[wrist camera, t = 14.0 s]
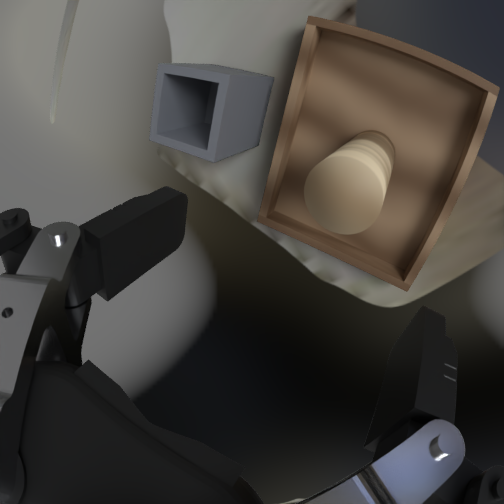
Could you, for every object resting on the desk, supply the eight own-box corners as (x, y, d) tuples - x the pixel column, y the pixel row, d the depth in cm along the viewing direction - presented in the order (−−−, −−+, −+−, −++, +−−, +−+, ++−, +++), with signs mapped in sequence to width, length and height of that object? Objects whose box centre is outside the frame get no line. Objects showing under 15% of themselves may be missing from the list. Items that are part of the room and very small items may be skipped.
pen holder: (211, 64, 29) (158, 63, 23) (274, 77, 27) (230, 74, 21) (200, 126, 33) (149, 140, 27) (258, 145, 31) (213, 162, 25)
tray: (318, 22, 22) (308, 15, 20) (491, 88, 18) (499, 87, 16) (269, 210, 34) (257, 221, 31) (408, 275, 29) (407, 291, 27)
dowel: (358, 123, 24) (316, 144, 14) (401, 141, 23) (395, 177, 13) (344, 164, 27) (295, 215, 17) (386, 182, 26) (364, 247, 16)
